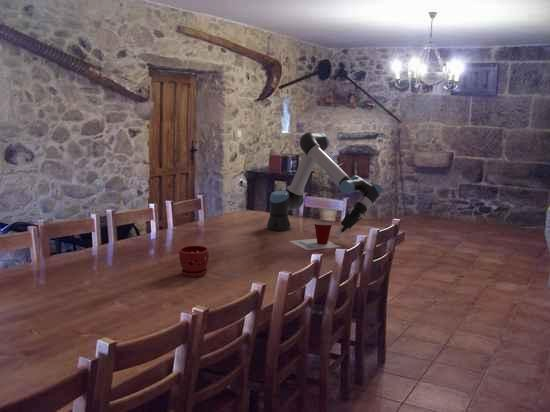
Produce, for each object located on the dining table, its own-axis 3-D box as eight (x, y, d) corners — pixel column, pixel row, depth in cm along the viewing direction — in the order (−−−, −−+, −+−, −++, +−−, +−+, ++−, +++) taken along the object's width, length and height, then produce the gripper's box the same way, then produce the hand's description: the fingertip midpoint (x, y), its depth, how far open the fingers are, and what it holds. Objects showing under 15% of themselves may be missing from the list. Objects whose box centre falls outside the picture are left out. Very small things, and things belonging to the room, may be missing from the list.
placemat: (288, 241, 329) (288, 240, 329) (321, 238, 339) (321, 238, 339) (307, 250, 310) (307, 249, 310) (341, 246, 319) (341, 246, 319)
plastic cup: (331, 241, 331) (332, 221, 329) (331, 245, 321) (332, 224, 319) (313, 240, 332) (313, 220, 330) (312, 244, 322) (313, 223, 320)
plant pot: (183, 269, 266) (183, 244, 264) (211, 271, 265) (211, 245, 263) (175, 277, 253) (175, 251, 251) (205, 279, 252) (205, 252, 250)
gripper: (372, 211, 330) (346, 242, 326) (359, 207, 342) (334, 237, 337) (365, 203, 327) (339, 233, 323) (352, 199, 339) (327, 228, 334)
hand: (337, 235), depth 330 cm, fingers closed
